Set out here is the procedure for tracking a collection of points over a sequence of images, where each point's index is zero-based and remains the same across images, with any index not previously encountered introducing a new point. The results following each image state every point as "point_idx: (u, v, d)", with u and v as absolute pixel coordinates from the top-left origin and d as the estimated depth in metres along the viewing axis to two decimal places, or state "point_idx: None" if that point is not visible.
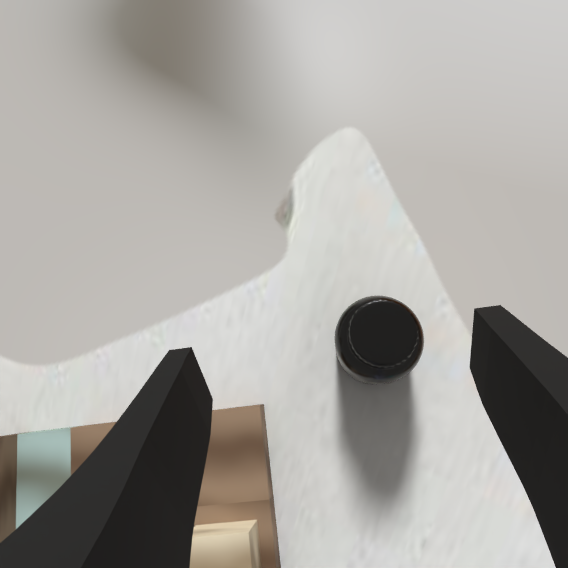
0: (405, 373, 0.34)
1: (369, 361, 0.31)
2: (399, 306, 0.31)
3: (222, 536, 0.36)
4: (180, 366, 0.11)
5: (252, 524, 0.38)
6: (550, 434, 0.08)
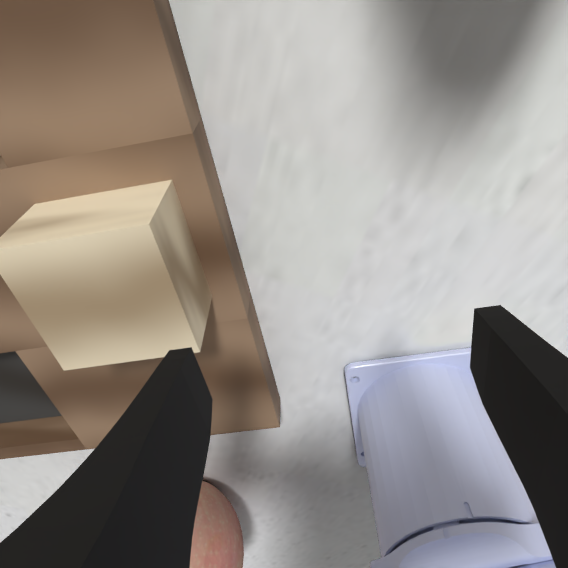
0: None
1: None
2: None
3: (84, 237, 0.14)
4: (180, 366, 0.11)
5: (160, 195, 0.16)
6: (550, 434, 0.08)
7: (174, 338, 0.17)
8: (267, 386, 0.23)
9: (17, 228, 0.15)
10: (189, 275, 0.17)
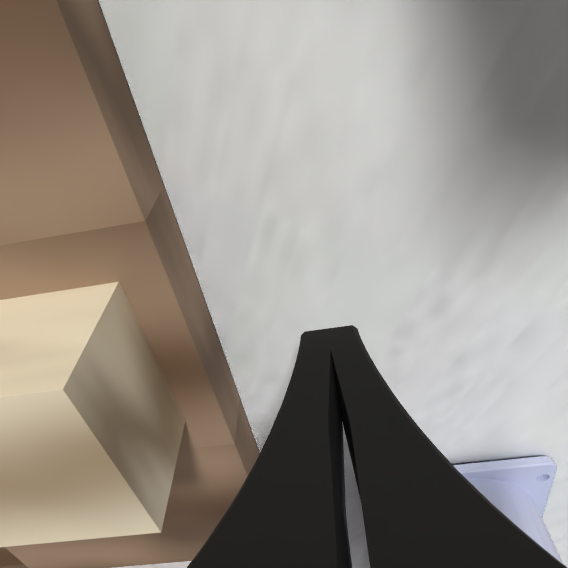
0: None
1: None
2: None
3: None
4: (328, 346, 0.10)
5: (95, 317, 0.10)
6: (354, 455, 0.08)
7: (122, 518, 0.11)
8: None
9: None
10: (146, 417, 0.12)
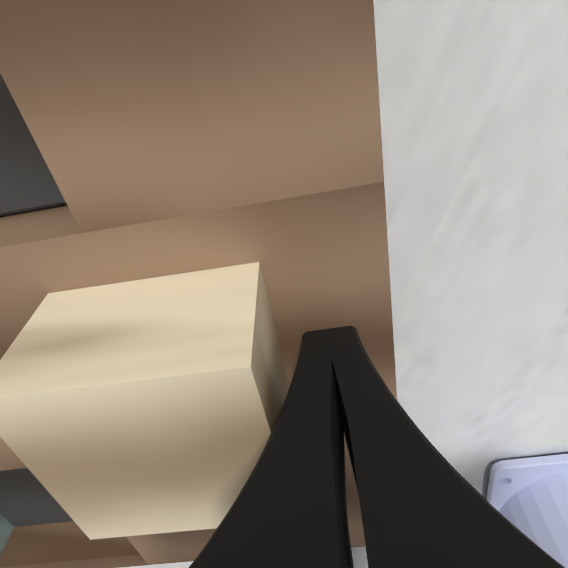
0: None
1: None
2: None
3: (137, 383, 0.08)
4: (330, 346, 0.10)
5: (250, 295, 0.10)
6: None
7: None
8: None
9: (23, 348, 0.10)
10: (282, 402, 0.11)
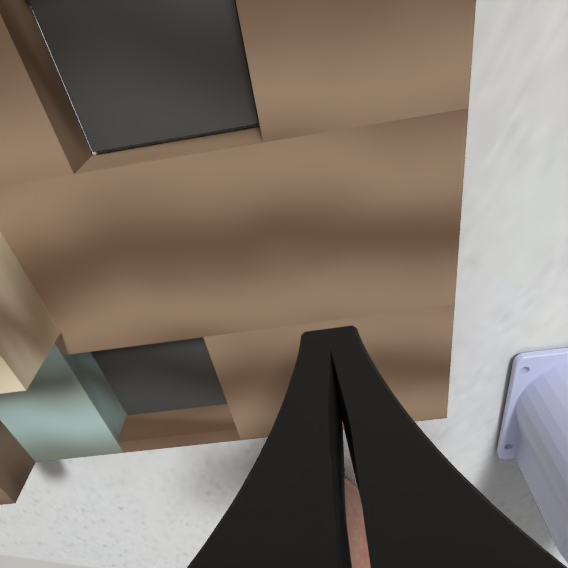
0: None
1: None
2: None
3: None
4: (328, 346, 0.10)
5: None
6: (354, 455, 0.08)
7: None
8: (448, 375, 0.23)
9: None
10: (18, 317, 0.18)
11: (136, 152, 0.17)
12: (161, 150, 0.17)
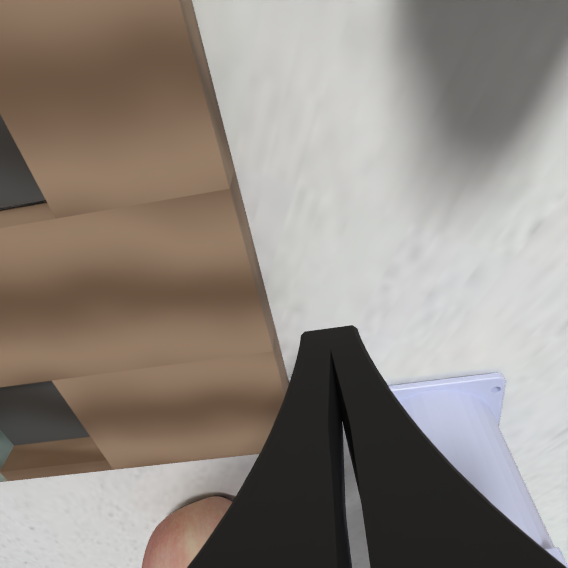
0: None
1: None
2: None
3: None
4: (328, 346, 0.10)
5: None
6: (354, 455, 0.08)
7: None
8: None
9: None
10: None
11: None
12: None
